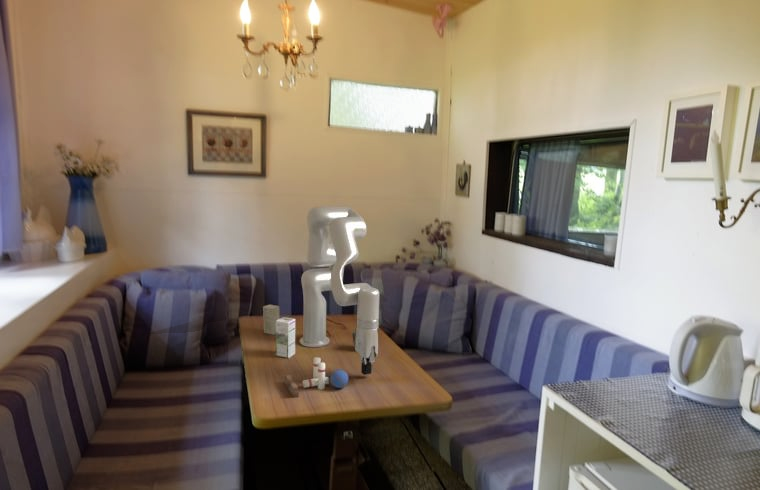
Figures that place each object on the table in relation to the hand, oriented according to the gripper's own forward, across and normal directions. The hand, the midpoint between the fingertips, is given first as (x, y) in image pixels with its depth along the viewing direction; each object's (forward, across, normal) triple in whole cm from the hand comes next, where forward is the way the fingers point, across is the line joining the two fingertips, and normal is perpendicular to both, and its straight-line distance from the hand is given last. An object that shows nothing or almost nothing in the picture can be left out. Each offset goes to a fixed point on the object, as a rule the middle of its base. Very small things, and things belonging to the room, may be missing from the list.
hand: (366, 373), depth 169 cm
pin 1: (+2, -2, -18) cm, 18 cm away
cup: (+2, -26, +9) cm, 28 cm away
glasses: (+2, -55, +5) cm, 55 cm away
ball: (-2, +4, -12) cm, 12 cm away
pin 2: (+2, +2, -18) cm, 18 cm away
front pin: (0, 0, -14) cm, 14 cm away
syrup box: (+2, -31, -21) cm, 37 cm away
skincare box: (+2, -60, -20) cm, 63 cm away
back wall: (+2, 0, -27) cm, 27 cm away
